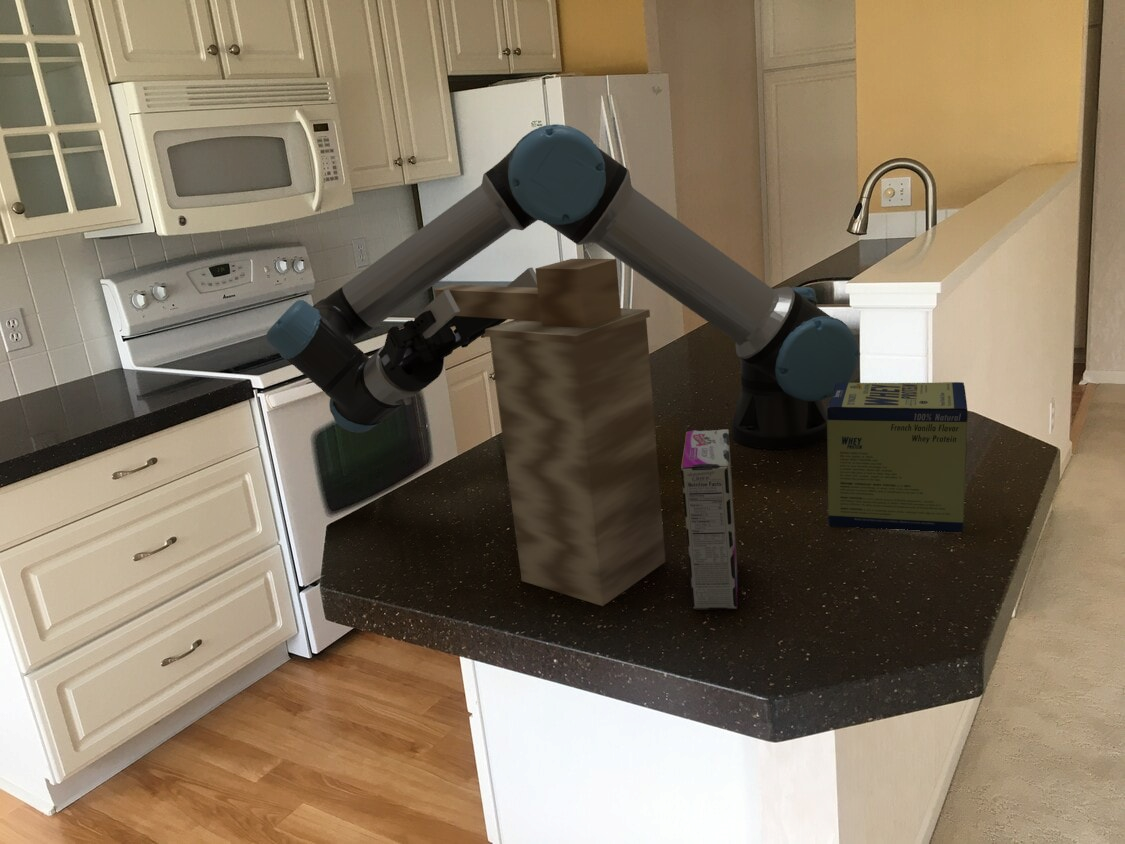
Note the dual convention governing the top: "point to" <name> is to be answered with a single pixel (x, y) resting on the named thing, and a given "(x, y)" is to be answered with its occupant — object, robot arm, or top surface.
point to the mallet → (549, 295)
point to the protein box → (897, 456)
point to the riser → (580, 453)
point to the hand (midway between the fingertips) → (495, 288)
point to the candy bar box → (710, 519)
